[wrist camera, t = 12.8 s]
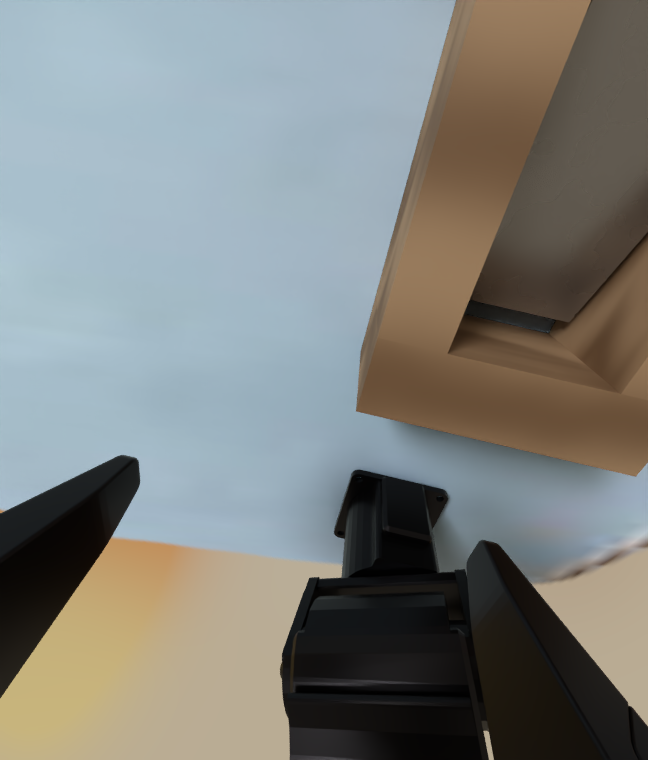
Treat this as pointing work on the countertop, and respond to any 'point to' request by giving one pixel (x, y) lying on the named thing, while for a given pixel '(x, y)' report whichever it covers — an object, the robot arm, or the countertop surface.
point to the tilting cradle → (579, 174)
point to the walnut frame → (468, 254)
